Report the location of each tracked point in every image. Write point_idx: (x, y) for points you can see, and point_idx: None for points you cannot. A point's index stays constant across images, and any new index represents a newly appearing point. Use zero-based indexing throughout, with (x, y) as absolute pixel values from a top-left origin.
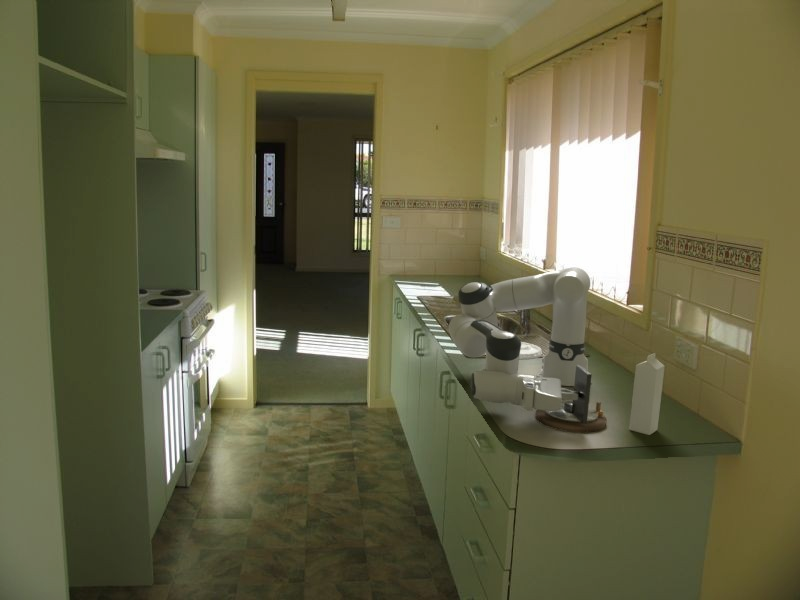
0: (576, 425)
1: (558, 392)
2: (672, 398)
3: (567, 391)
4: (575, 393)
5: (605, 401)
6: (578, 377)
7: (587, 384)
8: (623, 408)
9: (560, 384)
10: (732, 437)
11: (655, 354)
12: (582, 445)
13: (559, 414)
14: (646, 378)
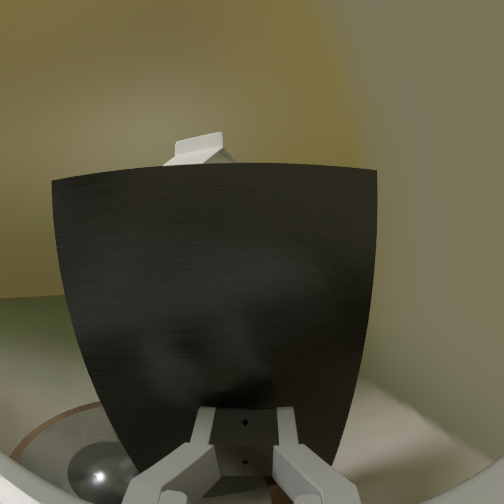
0: (291, 500)
1: (497, 489)
2: (52, 295)
3: (187, 478)
4: (281, 417)
5: (14, 359)
6: (159, 284)
7: (369, 260)
8: (61, 349)
9: (50, 486)
10: None
11: (176, 146)
12: (443, 455)
13: None
14: None
